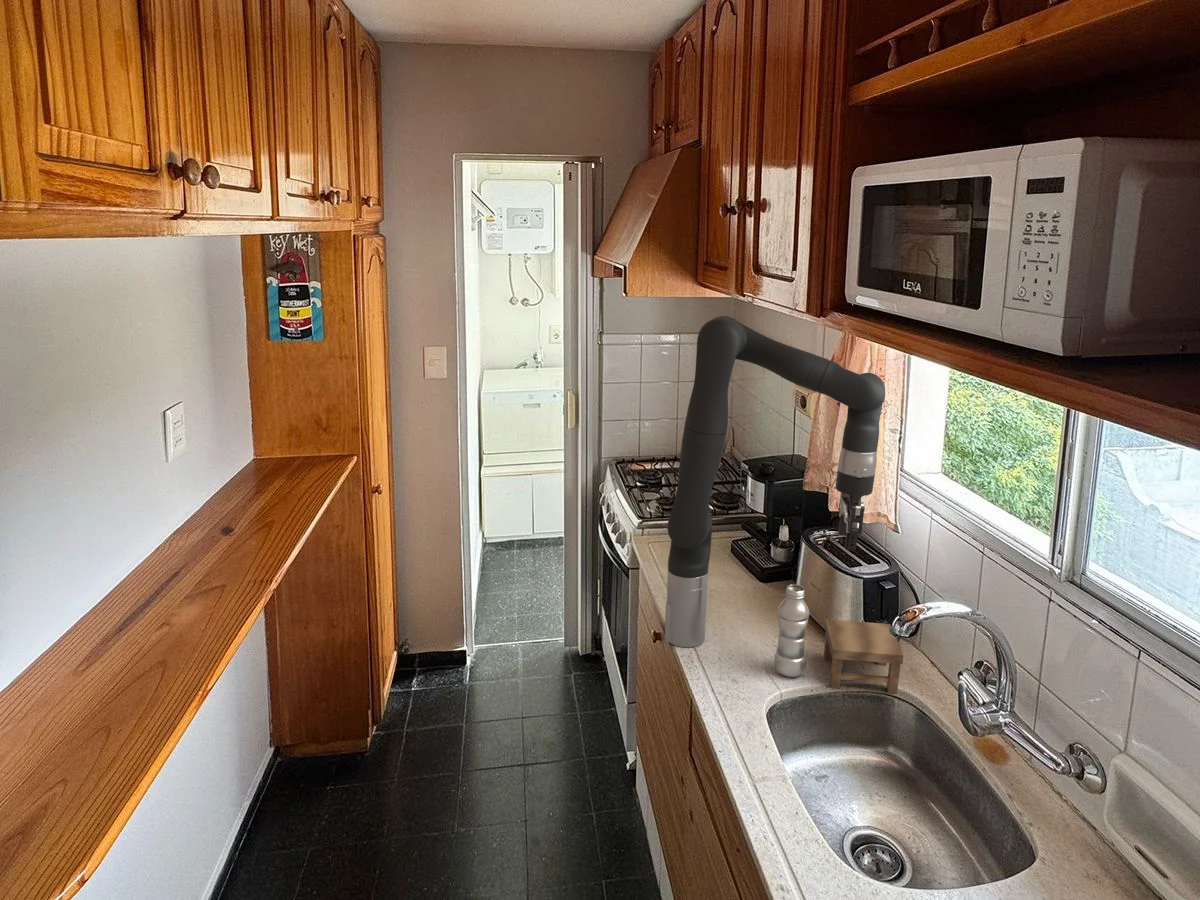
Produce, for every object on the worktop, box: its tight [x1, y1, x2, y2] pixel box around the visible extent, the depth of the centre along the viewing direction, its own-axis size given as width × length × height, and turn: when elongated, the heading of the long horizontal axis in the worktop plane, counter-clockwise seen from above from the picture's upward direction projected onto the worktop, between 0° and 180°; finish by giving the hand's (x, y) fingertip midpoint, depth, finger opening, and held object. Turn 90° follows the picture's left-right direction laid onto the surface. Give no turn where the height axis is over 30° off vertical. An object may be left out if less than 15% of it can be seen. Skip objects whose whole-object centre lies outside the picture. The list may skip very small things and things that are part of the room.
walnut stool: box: [823, 618, 904, 694], centre depth 178 cm, size 14×14×9 cm
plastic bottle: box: [773, 584, 810, 678], centre depth 177 cm, size 6×7×20 cm
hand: (846, 542), depth 177 cm, fingers open, 8 cm apart
